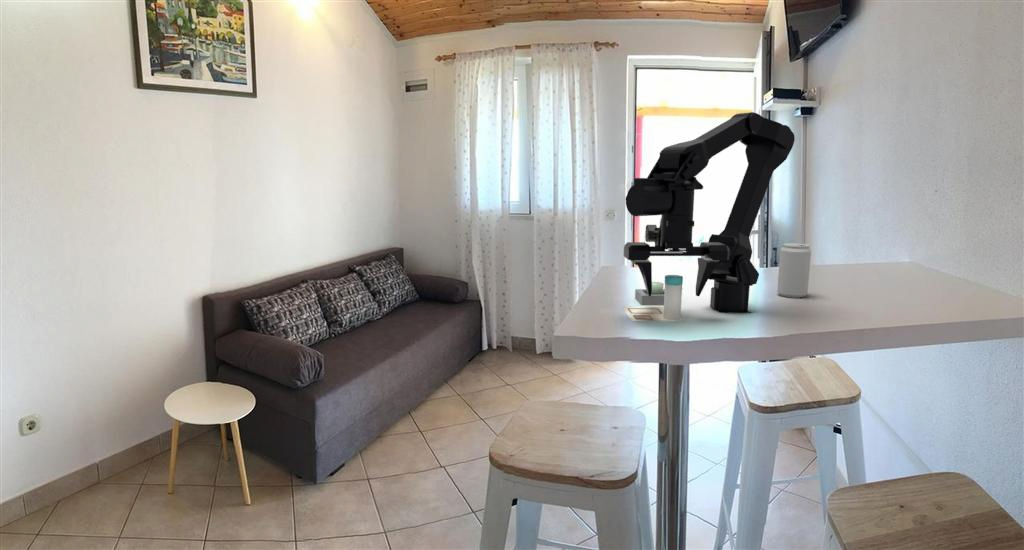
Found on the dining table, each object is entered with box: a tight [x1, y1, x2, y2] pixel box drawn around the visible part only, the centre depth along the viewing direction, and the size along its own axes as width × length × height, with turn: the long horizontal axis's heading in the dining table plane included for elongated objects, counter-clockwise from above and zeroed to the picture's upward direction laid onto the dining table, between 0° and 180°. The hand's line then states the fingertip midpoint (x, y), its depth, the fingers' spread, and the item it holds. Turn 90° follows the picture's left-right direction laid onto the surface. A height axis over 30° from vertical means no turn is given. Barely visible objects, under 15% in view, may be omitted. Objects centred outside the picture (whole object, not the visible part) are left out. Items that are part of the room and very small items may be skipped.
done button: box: [646, 281, 665, 294], centre depth 130 cm, size 4×4×2 cm
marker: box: [663, 274, 684, 320], centre depth 115 cm, size 3×3×8 cm
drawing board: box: [621, 305, 686, 322], centre depth 120 cm, size 12×14×1 cm
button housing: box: [634, 288, 665, 306], centre depth 130 cm, size 7×7×2 cm
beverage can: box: [776, 242, 812, 299], centre depth 138 cm, size 6×6×12 cm
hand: (673, 295), depth 115 cm, fingers open, 9 cm apart
